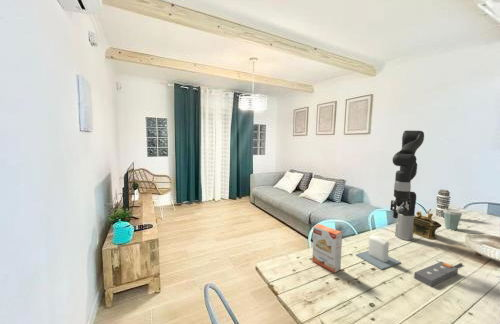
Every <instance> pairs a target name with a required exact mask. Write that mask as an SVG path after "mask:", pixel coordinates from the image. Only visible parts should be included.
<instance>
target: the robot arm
mask: <svg viewBox="0 0 500 324" xmlns="http://www.w3.org/2000/svg"><path fill="white" fill-rule="evenodd" d="M424 140H425V132H424V131H422V130H404V131H403V134H402V137H401V149H400V150H399V151H397V152H396V153H395V154H394V155H393V157H392V164H393V165H394V166H396V167H399V170H396V172H395V177H394V185H393V197H394V199H395V200H393V199H392V200H391V201H390V211H392V217H393V219H395V220H396V219H397V222H396V223H395V235H394V236H395V237H397V238H398V239H401V240H403V241H412V240H413V239H414V233H413V228H414V217H415V216H414V215H415V214H416V213H415V212H416V211H415V210H416V205H417V193H416V192H414V191H411V190H412V189H411V187H412V184H411V183H412V180H413V179H414V178H415V177H416V175H417V172H418V163H417V157H416V152H417V150H418V149H419V148H420V147H421V146H422V145H423V143H424Z"/></svg>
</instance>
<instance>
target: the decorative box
mask: <svg viewBox="0 0 500 324" xmlns="http://www.w3.org/2000/svg"><path fill="white" fill-rule="evenodd" d="M431 211H432V208H429V210H427V216H425V215H422V212H421V211H417V212H416V215H415V214H414V228H413V234H414V233H415V234H414V235H418V236H419V237H422V236H423V238H425V239H428V240H433V239H437V238H438V237H437V234H436V230H437V229H439V228H441V227H442V224H441V223H439V222H438V221H437V220H432V217H433V215H434V214H433V213H430V212H431Z"/></svg>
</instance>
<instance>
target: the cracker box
mask: <svg viewBox="0 0 500 324" xmlns="http://www.w3.org/2000/svg"><path fill="white" fill-rule="evenodd" d="M312 229H313V231H312V234H313V235H312V262H313V263H315V264H317V265H319V266H320V267H322V268H324V269H326V270H328V271H330V272H332V273H333V274H336V273H337V272H339V271H340V270H341V267H342V265H341V264H342V244H343V243H342V240H343V232H342V231H340V230H337V229H334V228H332V227H330V226H329V227H328V226H326V225H323V224H320V223H318V224H316V225H313V228H312Z"/></svg>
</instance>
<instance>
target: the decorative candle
mask: <svg viewBox="0 0 500 324" xmlns="http://www.w3.org/2000/svg"><path fill="white" fill-rule="evenodd" d="M437 192H438V193H437V196H436V205H437V206H436V208H435V217H436V216H438V217H443V218H444V212H443V210H444V209H446V208H447V209H449V207H450V204H451V203H450V202H451V196H450V195H451V194H450V193H451V192H450V191H449V190H448V189H439V190H438V191H437Z"/></svg>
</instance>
